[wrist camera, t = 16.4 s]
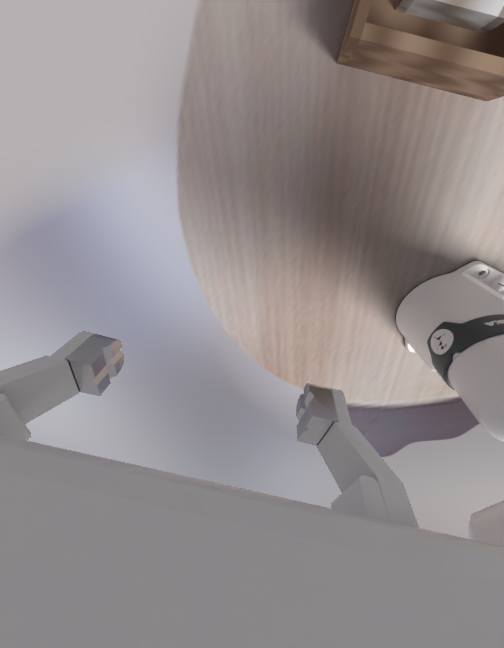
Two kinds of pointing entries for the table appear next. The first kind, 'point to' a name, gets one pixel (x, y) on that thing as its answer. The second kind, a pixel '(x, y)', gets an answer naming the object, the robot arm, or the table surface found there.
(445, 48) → the walled box
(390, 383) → the table surface
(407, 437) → the table surface
